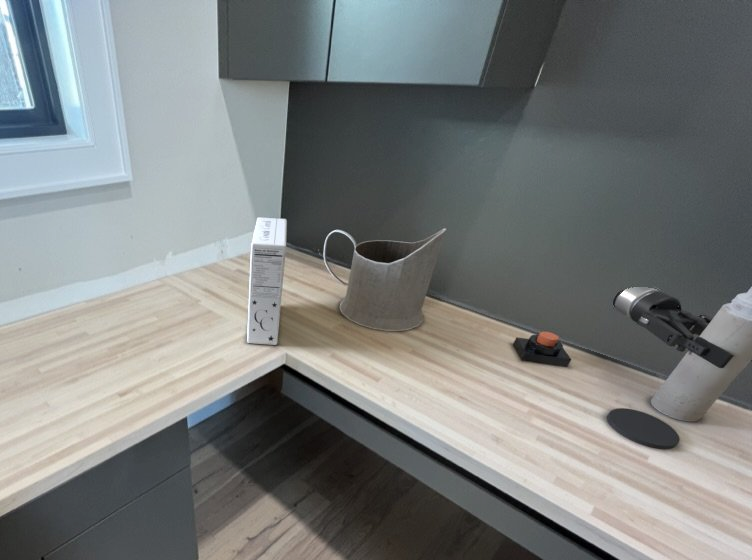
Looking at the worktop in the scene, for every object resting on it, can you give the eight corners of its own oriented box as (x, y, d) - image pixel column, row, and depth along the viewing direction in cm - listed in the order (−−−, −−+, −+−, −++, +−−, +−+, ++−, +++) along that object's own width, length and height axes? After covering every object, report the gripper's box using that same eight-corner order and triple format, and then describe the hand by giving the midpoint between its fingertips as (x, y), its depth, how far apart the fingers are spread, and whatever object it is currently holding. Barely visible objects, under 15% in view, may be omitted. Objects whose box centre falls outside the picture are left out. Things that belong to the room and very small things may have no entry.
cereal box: (253, 306, 122) (257, 217, 107) (278, 307, 122) (286, 218, 107) (246, 343, 105) (251, 243, 90) (277, 345, 104) (286, 245, 90)
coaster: (657, 416, 85) (660, 413, 85) (690, 453, 77) (693, 450, 76) (597, 407, 87) (599, 404, 87) (622, 442, 79) (624, 439, 78)
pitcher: (408, 339, 108) (438, 242, 94) (300, 307, 122) (311, 218, 108) (431, 308, 124) (459, 221, 109) (333, 282, 138) (346, 202, 123)
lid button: (551, 340, 103) (555, 332, 102) (557, 348, 100) (561, 340, 98) (533, 337, 104) (537, 330, 102) (539, 345, 100) (542, 338, 99)
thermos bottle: (688, 401, 89) (792, 276, 73) (708, 425, 83) (826, 295, 67) (644, 394, 91) (735, 271, 75) (660, 416, 85) (763, 288, 69)
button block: (555, 350, 106) (563, 336, 104) (567, 367, 100) (575, 352, 97) (512, 344, 108) (519, 330, 105) (521, 360, 102) (528, 346, 99)
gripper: (682, 322, 95) (789, 380, 77) (593, 320, 95) (680, 378, 77) (704, 291, 91) (823, 345, 73) (611, 289, 90) (708, 343, 72)
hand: (750, 362), depth 75 cm, fingers closed on thermos bottle, 8 cm apart
